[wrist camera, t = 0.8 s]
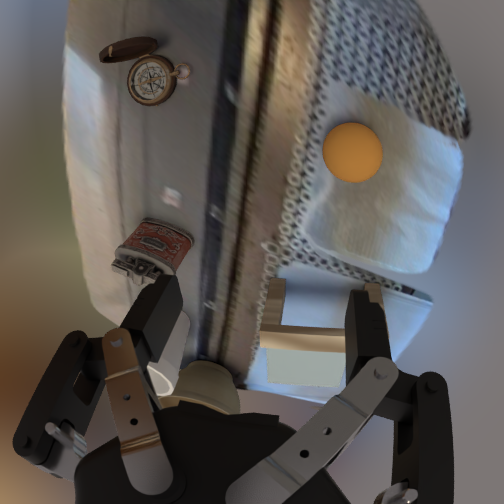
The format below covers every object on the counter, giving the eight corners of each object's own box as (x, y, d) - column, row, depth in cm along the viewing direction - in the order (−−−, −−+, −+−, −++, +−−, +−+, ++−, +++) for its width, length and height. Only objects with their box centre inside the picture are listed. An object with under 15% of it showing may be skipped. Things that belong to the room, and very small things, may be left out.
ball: (321, 116, 29) (324, 126, 24) (377, 120, 28) (391, 132, 23) (321, 169, 33) (322, 190, 28) (374, 172, 31) (385, 194, 27)
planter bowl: (211, 398, 66) (199, 438, 57) (158, 359, 60) (139, 401, 51) (265, 384, 58) (256, 431, 49) (209, 339, 53) (190, 390, 44)
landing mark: (266, 336, 49) (266, 337, 49) (351, 342, 47) (351, 343, 47) (267, 381, 57) (267, 382, 57) (338, 386, 55) (338, 387, 54)
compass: (137, 111, 32) (102, 125, 26) (124, 52, 28) (86, 55, 22) (198, 95, 30) (170, 104, 24) (185, 30, 26) (154, 25, 20)
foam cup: (154, 289, 48) (118, 349, 37) (205, 314, 49) (179, 380, 38) (144, 321, 53) (114, 376, 43) (190, 343, 54) (166, 402, 44)
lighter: (196, 232, 40) (167, 280, 32) (191, 252, 42) (163, 301, 34) (142, 213, 40) (103, 254, 32) (140, 233, 42) (104, 276, 34)
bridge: (270, 278, 42) (259, 330, 34) (379, 283, 40) (389, 337, 32) (271, 294, 44) (260, 347, 36) (375, 299, 41) (383, 353, 33)
